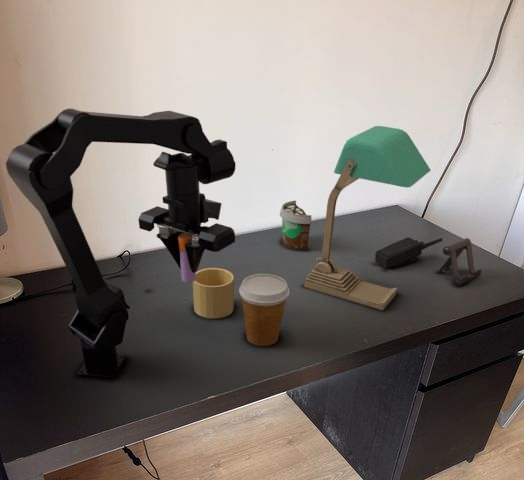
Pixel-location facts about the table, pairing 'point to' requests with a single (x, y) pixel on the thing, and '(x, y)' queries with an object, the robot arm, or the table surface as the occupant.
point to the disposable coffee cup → (263, 307)
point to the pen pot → (213, 293)
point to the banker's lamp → (374, 169)
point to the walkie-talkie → (402, 252)
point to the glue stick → (185, 258)
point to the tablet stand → (454, 252)
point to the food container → (295, 226)
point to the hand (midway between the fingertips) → (188, 269)
